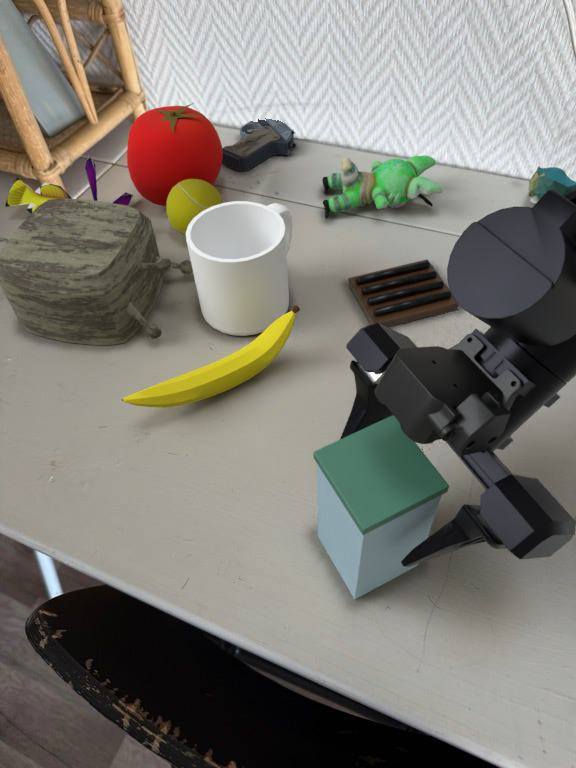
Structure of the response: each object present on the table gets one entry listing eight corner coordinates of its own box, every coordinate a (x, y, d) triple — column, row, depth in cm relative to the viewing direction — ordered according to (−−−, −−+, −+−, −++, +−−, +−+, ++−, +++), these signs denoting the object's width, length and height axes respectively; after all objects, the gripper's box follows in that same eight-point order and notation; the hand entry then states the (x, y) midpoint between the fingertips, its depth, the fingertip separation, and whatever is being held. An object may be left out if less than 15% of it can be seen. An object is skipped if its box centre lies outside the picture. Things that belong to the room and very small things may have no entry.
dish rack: (426, 265, 71) (428, 253, 69) (457, 309, 66) (460, 297, 64) (347, 284, 69) (348, 272, 68) (373, 331, 64) (375, 319, 63)
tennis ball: (225, 247, 76) (199, 222, 80) (239, 196, 72) (211, 171, 76) (177, 247, 72) (152, 220, 76) (189, 192, 68) (162, 167, 72)
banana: (129, 420, 58) (111, 379, 53) (292, 340, 64) (290, 296, 59) (140, 441, 56) (123, 400, 51) (307, 357, 62) (306, 313, 57)
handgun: (196, 135, 93) (265, 114, 95) (230, 177, 85) (305, 153, 87) (193, 119, 91) (264, 99, 94) (228, 161, 83) (304, 137, 86)
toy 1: (167, 204, 80) (142, 274, 80) (50, 171, 84) (26, 237, 84) (127, 164, 69) (98, 244, 68) (-6, 128, 73) (-35, 203, 73)
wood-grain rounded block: (201, 269, 72) (16, 245, 76) (189, 205, 65) (-14, 182, 69) (158, 356, 63) (-48, 323, 67) (139, 293, 56) (-90, 260, 60)
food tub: (379, 502, 51) (393, 414, 41) (422, 566, 48) (450, 485, 37) (314, 535, 50) (312, 451, 40) (353, 603, 46) (363, 530, 36)
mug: (245, 351, 63) (234, 276, 55) (183, 309, 67) (165, 234, 59) (321, 289, 68) (322, 213, 60) (259, 254, 73) (252, 179, 65)
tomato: (114, 202, 81) (89, 121, 72) (181, 157, 88) (166, 77, 79) (181, 232, 76) (162, 149, 67) (246, 181, 83) (238, 100, 74)
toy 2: (327, 237, 77) (444, 219, 75) (317, 188, 72) (444, 167, 69) (326, 193, 84) (434, 175, 81) (317, 144, 78) (433, 123, 76)
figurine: (573, 156, 80) (519, 148, 80) (610, 129, 71) (549, 121, 71) (560, 244, 81) (506, 236, 81) (594, 229, 72) (533, 220, 72)
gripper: (379, 225, 36) (235, 402, 42) (614, 449, 26) (378, 647, 31) (459, 281, 45) (329, 423, 50) (662, 468, 34) (468, 623, 40)
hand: (368, 510), depth 43 cm, fingers open, 9 cm apart
